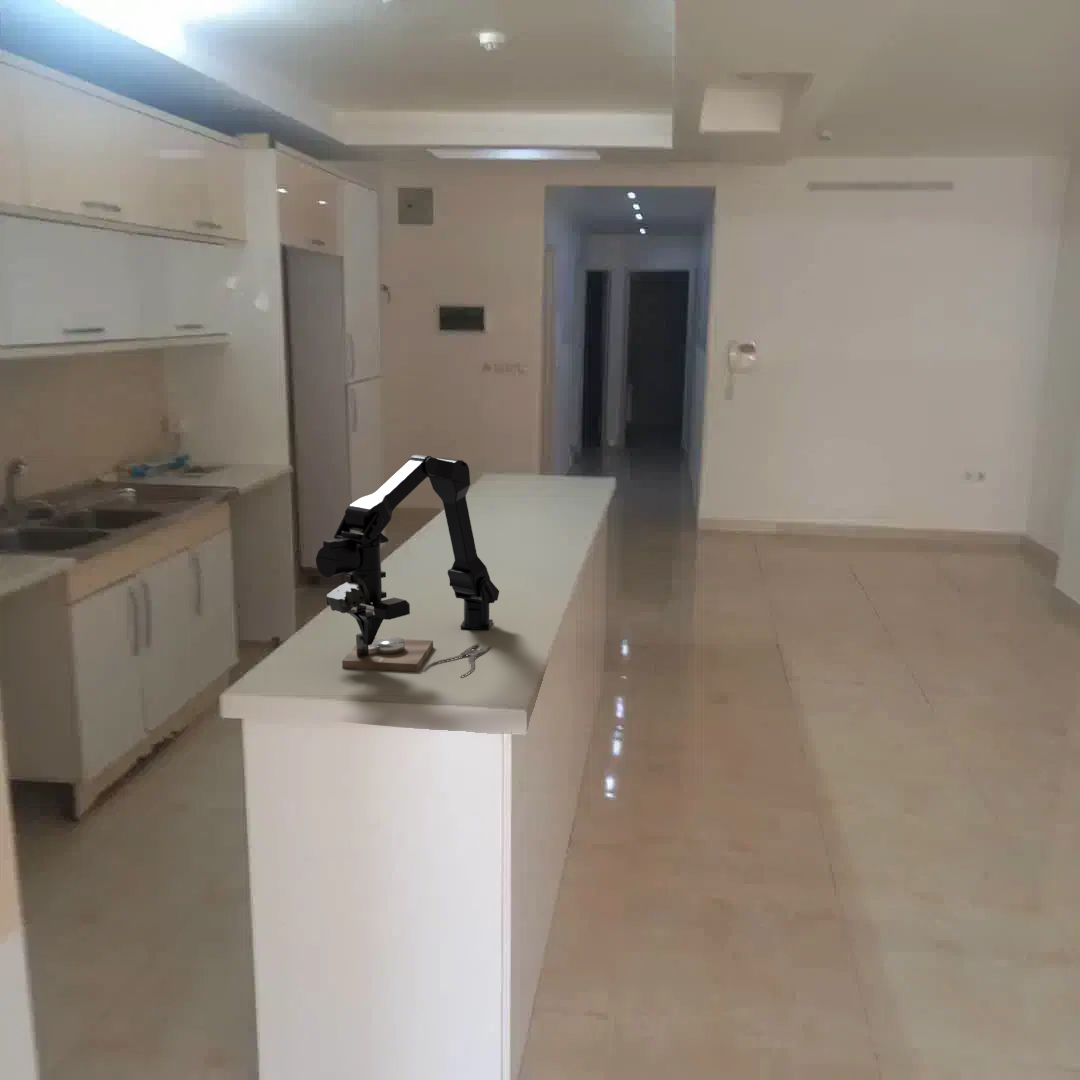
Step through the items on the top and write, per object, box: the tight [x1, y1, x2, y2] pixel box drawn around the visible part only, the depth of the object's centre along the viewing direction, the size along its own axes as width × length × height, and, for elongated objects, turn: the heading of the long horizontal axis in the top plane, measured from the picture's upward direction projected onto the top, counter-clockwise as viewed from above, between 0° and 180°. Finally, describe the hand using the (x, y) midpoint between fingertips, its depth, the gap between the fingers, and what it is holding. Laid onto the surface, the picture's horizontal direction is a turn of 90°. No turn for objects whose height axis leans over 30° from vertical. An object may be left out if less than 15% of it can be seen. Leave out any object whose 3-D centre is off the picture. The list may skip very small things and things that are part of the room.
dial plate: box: [341, 637, 434, 672], centre depth 206 cm, size 15×15×2 cm
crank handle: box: [355, 633, 405, 656], centre depth 204 cm, size 10×6×4 cm, turn 128°
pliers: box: [422, 642, 491, 677], centre depth 206 cm, size 10×1×20 cm
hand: (369, 644), depth 200 cm, fingers closed
